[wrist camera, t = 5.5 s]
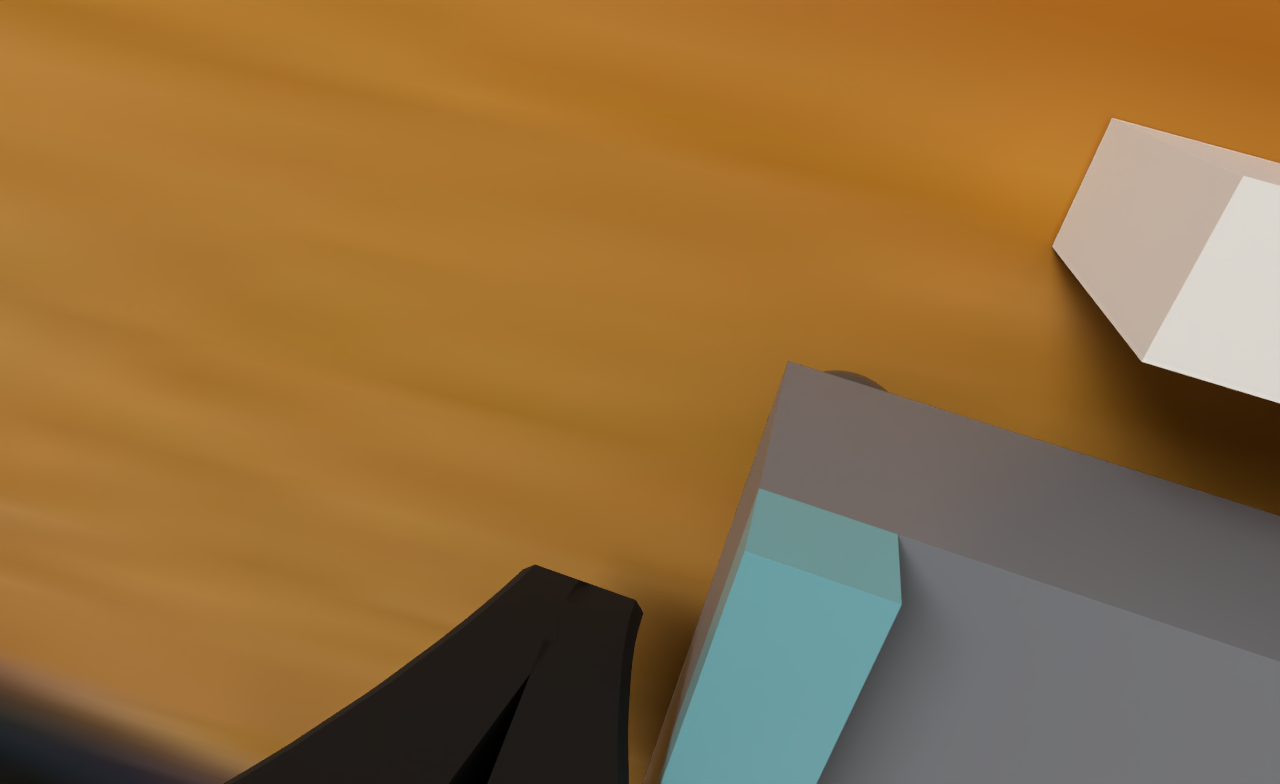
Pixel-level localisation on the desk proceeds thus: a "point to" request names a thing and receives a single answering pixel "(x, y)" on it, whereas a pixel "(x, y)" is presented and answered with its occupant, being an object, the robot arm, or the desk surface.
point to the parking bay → (1182, 254)
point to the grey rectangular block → (973, 613)
